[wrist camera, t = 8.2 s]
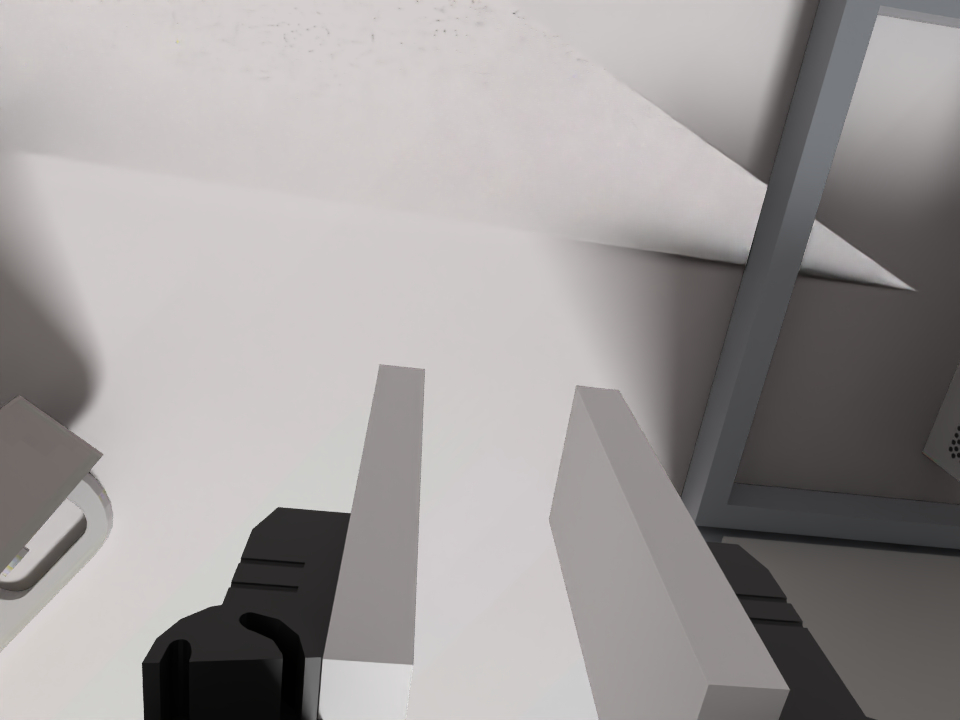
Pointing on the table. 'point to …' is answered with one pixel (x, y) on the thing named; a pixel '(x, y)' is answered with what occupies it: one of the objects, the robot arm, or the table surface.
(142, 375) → the table surface
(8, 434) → the network device
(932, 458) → the cassette player
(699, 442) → the equipment case
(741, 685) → the robot arm
